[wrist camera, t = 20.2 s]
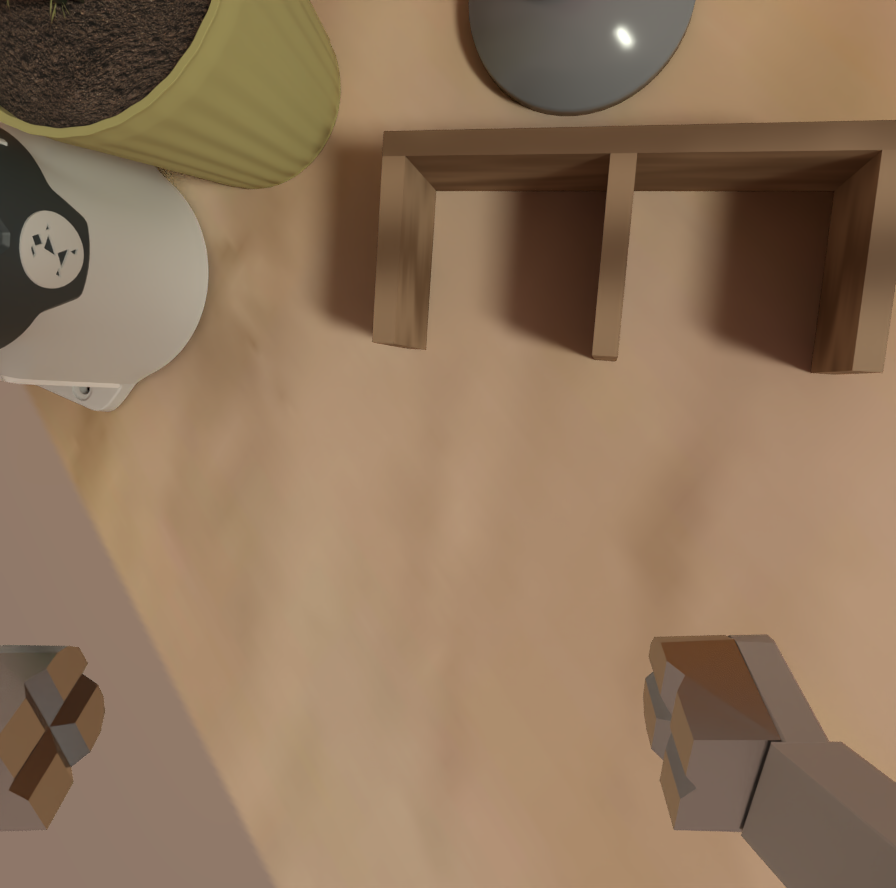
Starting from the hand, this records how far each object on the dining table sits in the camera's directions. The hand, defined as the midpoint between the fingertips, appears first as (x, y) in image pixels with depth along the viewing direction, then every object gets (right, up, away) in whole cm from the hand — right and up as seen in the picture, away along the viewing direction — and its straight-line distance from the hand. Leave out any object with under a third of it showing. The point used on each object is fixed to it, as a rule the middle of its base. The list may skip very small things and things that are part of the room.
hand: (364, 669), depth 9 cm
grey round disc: (+8, +27, +26) cm, 39 cm away
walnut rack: (+10, +12, +27) cm, 31 cm away
